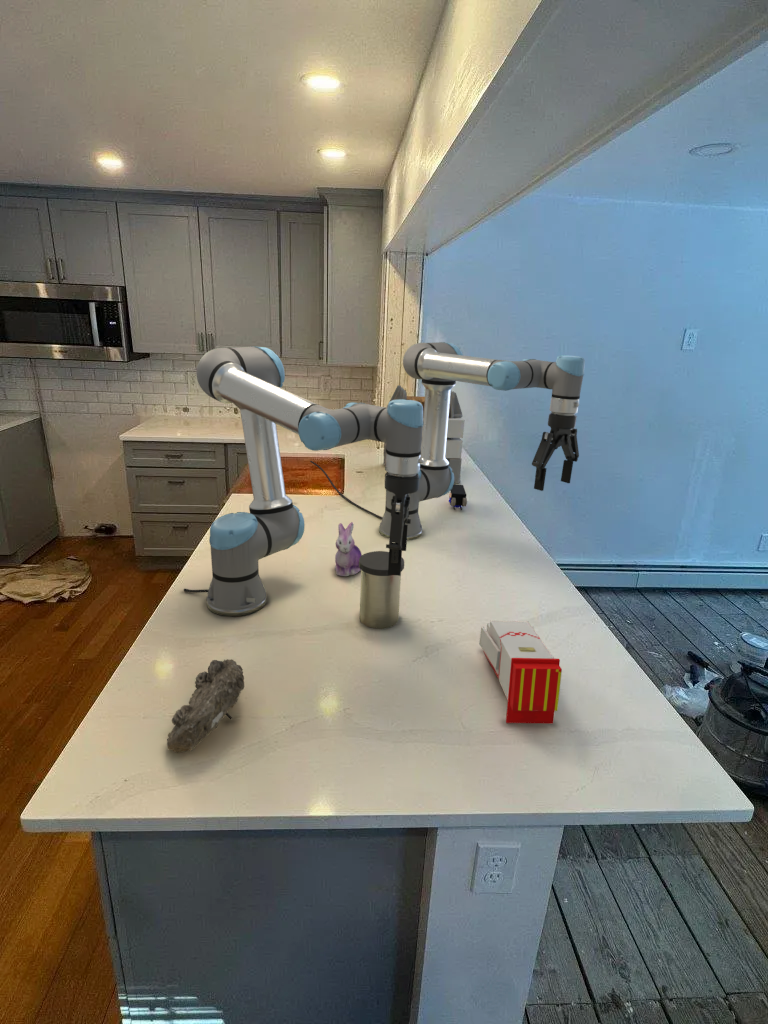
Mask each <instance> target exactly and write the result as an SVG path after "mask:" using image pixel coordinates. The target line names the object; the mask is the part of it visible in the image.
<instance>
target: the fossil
mask: <svg viewBox="0 0 768 1024" xmlns="http://www.w3.org/2000/svg"><path fill="white" fill-rule="evenodd" d="M243 670H244V669H243V667H242V665H240V664H237V662H236V661H235V660H234V659H232V658H231V659H227V658H226V659H224V660H223V661H222V660H217V659H212V660H211V661H210V663H209V665H208V666H207V671H201V672H199V673H198V674H197V675H196V676H195V680H194V684H195V685H194V687H195V689H194V690H193V693H192V694H191V697H190V698H189V700H188V704H184V705H182V706H181V707H180V709H177V710H176V711H175V713H174V715H173V716H172V718H171V723H172V724H173V727H172V730H171V731H170V732H168V734H167V738H166V741H167V742H166V745H167V749H168V750H169V751H173V752H174V753H176V754H178V753H182V752H188V751H189V752H192V751H193V750H195V748H196V747H197V746H199V744H200V743H201V742H203V741H204V740H205V739H206V738H207V737H208V736H209V735H210V734H211V733H212V732H214V730H215V729H217V727H218V726H219V724H220V722H221V721H222V720H223V719H224V718H225V716H226V717H227V719H229V720H233V717H232V715H230V714H229V710H230V709H231V708H234V706H235V704H236V703H237V702H238V699H239V697H240V695H241V693H242V691H243V690H245V689H244V688H245V675H244V671H243Z"/></svg>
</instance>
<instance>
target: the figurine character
mask: <svg viewBox="0 0 768 1024" xmlns="http://www.w3.org/2000/svg"><path fill="white" fill-rule="evenodd" d="M448 502H449V505H450V507H452V509H453V511H456V509H460V511H463V507H464V508H465V507H467V503H468V498H467V492H466V489H465V487H464V484H457V483H454V484H453V487H452V489H451V490H450V491H449V494H448Z"/></svg>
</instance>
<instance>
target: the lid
mask: <svg viewBox="0 0 768 1024" xmlns="http://www.w3.org/2000/svg"><path fill="white" fill-rule="evenodd" d="M388 564H389V551H385V550H376V551H369V552H365V553H364V554H362V556H361V557H360V558H359V568H360V569H361V570H362V571H363V572H365V573H368V574H371V575H375V576H391V575H388ZM404 569H405V559H404V558H403V557H402V559H401V572H403V571H404ZM361 570H360V571H361Z"/></svg>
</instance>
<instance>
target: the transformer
mask: <svg viewBox="0 0 768 1024" xmlns="http://www.w3.org/2000/svg"><path fill="white" fill-rule="evenodd" d="M407 394H408V393H407V390H406V389H404V388H403V387H402V385H399V384H398V385H397V386H396V388H395V390H394V392H393V394H392V395H391V398H390V400H389V402H390V401H392V400H398V399H404V400H414V401H418V402H420V403H421V404H422V406H423V419H424V404H425V396H415V395H414V396H413V395H412V396H411V395H407ZM389 402H388V404H389ZM388 404H387V405H386V408H388ZM464 429H465V419H464V418H463V411H462V408H461V405H460V402H459V398H458V395H457V392H455V391H453V390H451V392H450V404H449V416H448V428H447V441H446V453H445V458H446V459H447V461H448V462H449V466H450V467H451V469H452V473H454V484H459V483H461V472H462V461H463V460H462V453H463V442H464V441H463V440H462V439H463V438H464V431H465V430H464ZM422 434H423V429H422ZM421 449H422V441H421ZM420 455H421V454H420ZM385 459H386V442H383V466H384V467H385Z"/></svg>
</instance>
